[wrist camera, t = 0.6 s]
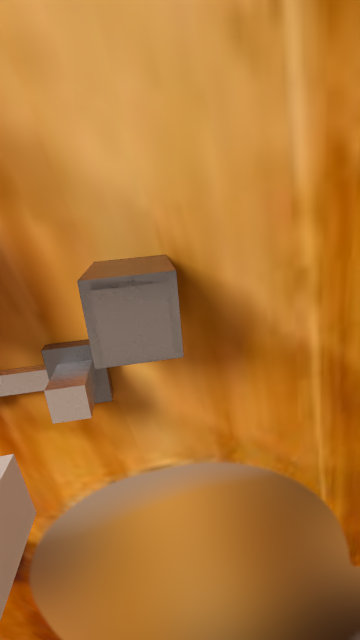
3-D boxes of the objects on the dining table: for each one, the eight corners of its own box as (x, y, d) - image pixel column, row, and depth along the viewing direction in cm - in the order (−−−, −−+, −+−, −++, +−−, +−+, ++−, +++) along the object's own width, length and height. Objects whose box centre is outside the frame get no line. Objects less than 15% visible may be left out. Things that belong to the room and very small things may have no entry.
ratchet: (-77, 360, 31) (-128, 395, 25) (103, 337, 33) (95, 365, 27) (-53, 417, 34) (-95, 462, 27) (113, 393, 35) (108, 430, 29)
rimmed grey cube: (93, 261, 30) (77, 281, 22) (165, 254, 31) (176, 270, 22) (105, 328, 33) (95, 369, 24) (171, 320, 33) (183, 357, 25)
